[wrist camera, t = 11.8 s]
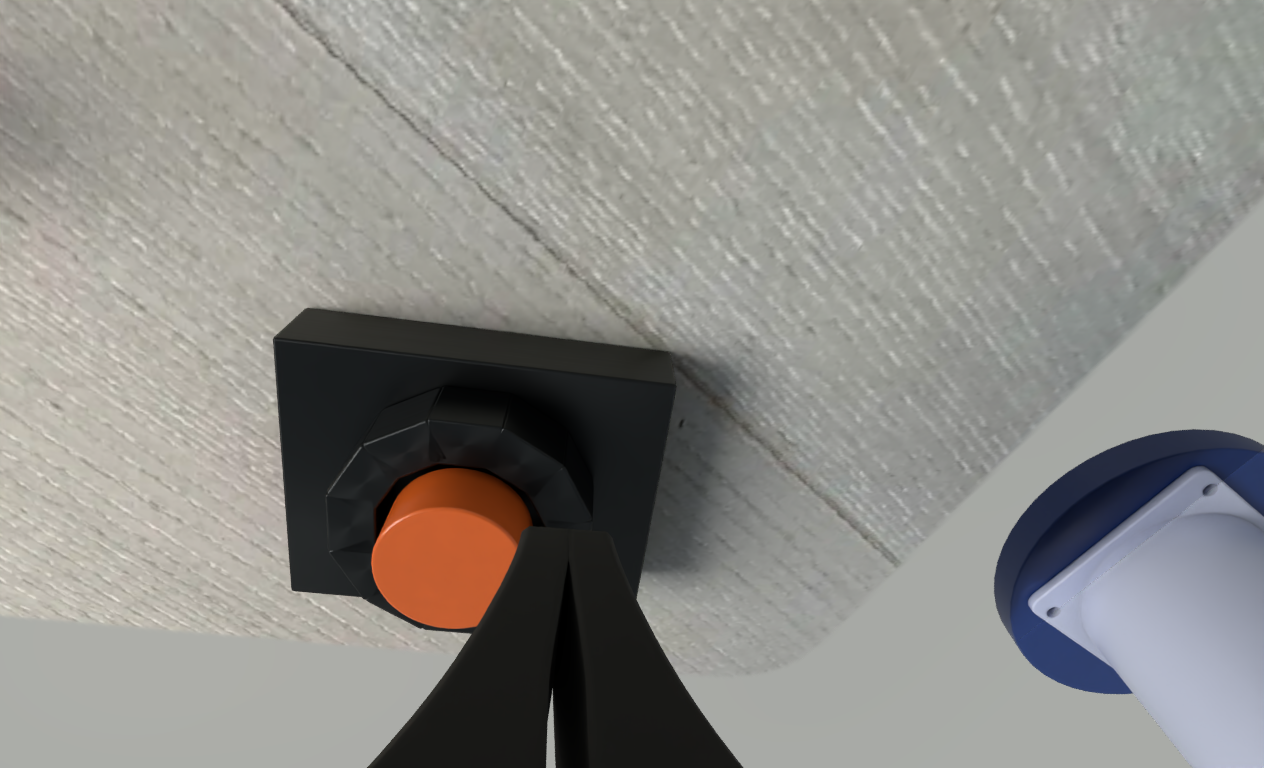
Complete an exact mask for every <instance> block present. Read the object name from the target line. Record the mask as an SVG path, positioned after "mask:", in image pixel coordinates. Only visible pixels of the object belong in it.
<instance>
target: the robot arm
mask: <svg viewBox="0 0 1264 768" xmlns="http://www.w3.org/2000/svg"><path fill="white" fill-rule="evenodd" d="M1206 486H1207V488H1205V487H1206ZM1204 488H1205V489H1204ZM1028 606H1029V607H1030V608H1031V610H1032V611H1033V612H1034V613H1035V614H1036V615H1037V616H1039V617H1040V618H1042V619H1043V620H1045V621H1046V622H1047V623H1049V624H1050V625H1052V626H1053V627H1055V628H1056V629H1058V630H1059V631H1060V632H1062V633H1063V634H1065V635H1066V636H1068V637H1069V638H1070V639H1072V640H1073V641H1075V642H1076V643H1078V644H1079V645H1081V646H1082V647H1083V648H1085V649H1086V650H1088V651H1089V652H1091V653H1092V654H1093V655H1095V656H1096V657H1098V658H1099V659H1101V660H1102V661H1104V662H1105V663H1106V664H1108V665H1109V666H1111V667H1112V668H1113V669H1114V670H1115V671H1116V672H1117V674H1118V675H1119V676H1120V677H1121V679H1122V680H1123V681H1124V682H1125V684H1126V685H1127V686H1128V687H1129V689H1130V690H1131V691H1132V693H1133V694H1134V695H1135V696H1136V698H1137V699H1138V700H1139V701H1140V703H1141V704H1142V705H1143V706H1144V708H1145V709H1146V710H1147V711H1148V713H1149V714H1150V715H1151V717H1153V719H1154V720H1155V722H1156V723H1157V724H1158V725H1159V727H1160V728H1161V729H1162V730H1163V732H1164V733H1165V734H1166V735H1167V737H1168V738H1169V739H1170V741H1171V742H1172V743H1173V744H1174V745H1175V747H1176V748H1177V749H1178V751H1179V752H1180V753H1181V754H1182V756H1183V757H1184V758H1185V759H1186V761H1187V762H1188V763H1189V764H1190V766H1191V767H1192V768H1264V517H1263V516H1262V515H1261V514H1260V513H1259V512H1258V511H1257V510H1255V509H1254V508H1253V507H1252V506H1251V505H1250V504H1249V503H1247V502H1246V501H1245V500H1244V499H1243V498H1242V497H1241V496H1239V495H1238V494H1237V493H1236V492H1235V491H1234V490H1233V489H1231V488H1230V487H1229V486H1228V485H1227V484H1226V483H1225V482H1223V481H1222V480H1221V479H1220V478H1219V477H1218V476H1217V475H1216V474H1214V473H1213V472H1212V471H1210V470H1209V469H1208V468H1206V467H1204V466H1196V467H1193V468H1191V469H1189V470H1187V471H1186V472H1185V473H1183V474H1182V475H1181V476H1180V477H1178V478H1177V479H1176V480H1175V481H1173V482H1172V483H1171V484H1170V485H1168V486H1167V487H1166V488H1165V489H1163V490H1162V491H1161V492H1160V493H1158V494H1157V495H1156V496H1155V497H1153V498H1152V499H1151V500H1150V501H1148V502H1147V503H1146V504H1145V505H1143V506H1142V507H1141V508H1140V509H1138V510H1137V511H1136V512H1135V513H1133V514H1132V515H1131V516H1130V517H1128V518H1127V519H1126V520H1125V521H1123V522H1122V523H1121V524H1120V525H1118V526H1117V527H1116V528H1115V529H1113V530H1112V531H1111V532H1110V533H1108V534H1107V535H1106V536H1105V537H1103V538H1102V539H1101V540H1100V541H1098V542H1097V543H1096V544H1095V545H1093V546H1092V547H1091V548H1090V549H1088V550H1087V551H1086V552H1085V553H1083V554H1082V555H1081V556H1080V557H1078V558H1077V559H1076V560H1075V561H1073V562H1072V563H1071V564H1070V565H1068V566H1067V567H1066V568H1065V569H1063V570H1062V571H1061V572H1060V573H1058V574H1057V575H1056V576H1055V577H1053V578H1052V579H1051V580H1050V581H1048V582H1047V583H1046V584H1045V585H1043V586H1042V587H1041V588H1040V589H1038V590H1037V591H1036V592H1035V593H1033V594H1032V595H1031V596H1030V598H1029V600H1028ZM1051 608H1052V609H1051ZM1049 609H1050V610H1049ZM552 688H553V711H554V738H555V761H556V768H743V767H742V766H741V764H740V763H739V762H738V760H737V759H736V758H735V756H734V755H733V754H732V753H731V751H730V750H729V749H728V747H727V746H726V745H725V743H724V742H723V741H722V740H721V739H720V737H719V736H718V734H717V733H716V732H715V730H714V729H713V728H712V726H711V725H710V723H709V722H708V720H707V719H706V718H705V716H704V715H703V713H702V712H701V711H700V709H699V708H698V706H697V705H696V703H695V702H694V700H693V699H692V697H691V696H690V694H689V693H688V691H687V690H686V688H685V686H684V685H683V683H682V682H681V680H680V679H679V677H678V675H677V674H676V672H675V670H674V669H673V667H672V665H671V664H670V662H669V660H668V659H667V657H666V655H665V653H664V652H663V650H662V648H661V646H660V644H659V643H658V641H657V639H656V637H655V635H654V633H653V631H652V630H651V628H650V626H649V624H648V622H647V620H646V618H645V616H644V614H643V612H642V610H641V608H640V606H639V604H638V602H637V600H636V598H635V596H634V593H633V591H632V589H631V587H630V584H629V582H628V580H627V577H626V575H625V573H624V570H623V568H622V565H621V562H620V560H619V557H618V554H617V551H616V548H615V545H614V542H613V538H612V537H611V536H610V535H609V534H608V532H605V531H591V530H577V529H563V528H550V527H536V526H529V527H527V528H526V529H524V530H523V531H522V532H521V537H520V541H519V544H518V547H517V549H516V552H515V555H514V557H513V560H512V562H511V564H510V566H509V569H508V571H507V573H506V575H505V577H504V579H503V581H502V583H501V585H500V587H499V589H498V590H497V592H496V594H495V596H494V597H493V599H492V601H491V603H490V605H489V606H488V608H487V610H486V612H485V614H484V615H483V617H482V619H481V620H480V622H479V624H478V625H477V627H476V628H475V630H474V631H473V633H472V634H471V636H470V638H469V639H468V641H467V642H466V644H465V645H464V647H463V648H462V650H461V651H460V653H459V654H458V656H457V657H456V659H455V661H454V662H453V663H452V665H451V666H450V667H449V669H448V671H447V672H446V673H445V675H444V676H443V677H442V679H441V680H440V681H439V683H438V684H437V685H436V687H435V688H434V689H433V691H432V692H431V693H430V695H429V696H428V697H427V699H426V700H425V701H424V702H423V703H422V705H421V706H420V707H419V709H418V710H417V711H416V712H415V713H414V715H413V716H412V717H411V719H410V720H409V721H408V722H407V723H406V724H405V725H404V726H403V728H402V729H401V730H400V731H399V732H398V733H397V735H396V736H395V737H394V738H393V739H392V740H391V742H390V743H389V744H388V745H387V746H386V747H385V748H384V750H383V751H382V752H381V753H380V754H379V755H378V756H377V758H376V759H375V760H374V761H373V762H372V763H371V764H370V765H369V766H368V767H367V768H546V747H547V746H546V744H547V721H548V714H549V708H550V701H551V695H552Z"/></svg>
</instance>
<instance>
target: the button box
mask: <svg viewBox="0 0 1264 768" xmlns="http://www.w3.org/2000/svg"><path fill="white" fill-rule="evenodd" d="M273 345H274V359H275V372H276V386H277V399H278V413H279V426H280V440H281V453H282V467H283V480H284V494H285V507H286V521H287V534H288V547H289V561H290V574H291V588H292V591H299V592H310V593H321V594H333V595H344V596H355V597H362V598H363V599H366V600H367V601H368V602H370V603H372V604H374V605H375V606H377V607H379V608H381V609H383V610H385V611H387V612H389V613H391V614H393V615H395V616H397V617H399V618H401V619H403V620H405V621H406V622H408V623H410V624H412V625H414V626H416V627H418V628H423V629H425V630H435V631H446V632H458V633H470V634H472V633H473V631H474V630H475V628H476V627H477V626H476V627H470V628H462V629H447V628H439V627H434V626H430V625H426V624H423V623H420V622H418V621H415V620H413V619H411V618H409V617H407V616H406V615H404V614H402V613H401V612H399V611H398V610H397V609H395V608H394V607H393V606H392V605H391V604H390V603H389V602H388V601H387V600H386V599H385V598H384V596H383V595H382V594H381V592H380V591H379V589H378V587H377V585H376V583H375V580H374V577H373V573H372V565H371V559H372V552H373V548H374V545H375V543H376V541H377V538H378V536H379V534H380V532H381V530H382V527H383V525H384V523H385V521H386V519H387V516H388V514H389V512H390V510H391V508H392V505H393V503H394V501H395V499H396V497H397V496H398V494H399V493H400V492H401V491H402V490H403V488H404V487H405V486H407V485H408V484H409V483H410V482H411V481H413V480H415V479H416V478H418V477H420V476H422V475H424V474H426V473H429V472H432V471H435V470H440V469H445V468H467V469H473V470H478V471H481V472H485V473H487V474H490V475H492V476H494V477H496V478H498V479H500V480H502V481H503V482H505V483H506V484H508V485H509V486H510V487H511V488H512V489H513V490H515V491H516V492H517V494H518V495H519V496H520V497H521V498H522V500H523V501H524V503H525V504H526V506H527V508H528V510H529V512H530V515H531V519H532V524H533V526H536V527H550V528H563V529H577V530H591V531H605V532H608V534H609V535H610V536H611V537H612V538H613V542H614V545H615V548H616V551H617V554H618V557H619V560H620V562H621V565H622V568H623V570H624V573H625V575H626V577H627V580H628V582H629V584H630V587H631V589H632V591H633V593H634V596H635V598H636V599H637V593H638V588H639V583H640V578H641V572H642V567H643V562H644V556H645V551H646V546H647V541H648V535H649V530H650V525H651V519H652V514H653V509H654V504H655V498H656V493H657V488H658V482H659V477H660V472H661V467H662V461H663V456H664V451H665V446H666V440H667V435H668V430H669V424H670V419H671V414H672V409H673V403H674V398H675V393H676V387H677V386H676V381H675V376H674V371H673V365H672V360H671V355H670V353H669V352H664V351H656V350H648V349H639V348H631V347H623V346H615V345H606V344H598V343H590V342H582V341H573V340H565V339H557V338H549V337H541V336H532V335H524V334H516V333H508V332H499V331H491V330H483V329H475V328H466V327H458V326H450V325H442V324H433V323H425V322H417V321H409V320H401V319H392V318H384V317H376V316H368V315H359V314H351V313H343V312H335V311H326V310H318V309H310V308H306V309H304V310H303V311H302V312H301V313H300V314H299V315H298V316H297V317H296V318H295V319H294V320H292V321H291V322H290V323H289V324H288V325H287V326H286V327H285V328H284V329H283V330H282V331H280V332H279V333H278V334H277V335H276V336H275V337H274V339H273Z"/></svg>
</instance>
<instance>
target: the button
mask: <svg viewBox="0 0 1264 768" xmlns="http://www.w3.org/2000/svg"><path fill="white" fill-rule="evenodd" d="M529 526H533V524H532V519H531V515H530V512H529V510H528V508H527V506H526V504H525V503H524V501H523V500H522V498H521V497H520V496H519V495H518V494H517V492H516V491H515V490H513V489H512V488H511V487H510V486H509V485H508V484H506V483H505V482H503V481H502V480H500V479H498V478H496V477H494V476H492V475H490V474H487V473H485V472H481V471H478V470H473V469H467V468H445V469H440V470H435V471H432V472H429V473H426V474H424V475H422V476H420V477H418V478H416V479H415V480H413V481H411V482H410V483H409V484H408V485H407V486H405V487H404V488H403V490H402V491H401V492H400V493H399V494H398V496H397V497H396V499H395V501H394V503H393V505H392V508H391V510H390V512H389V514H388V516H387V519H386V521H385V523H384V525H383V527H382V530H381V532H380V534H379V536H378V538H377V541H376V543H375V545H374V548H373V552H372V559H371V565H372V573H373V577H374V580H375V583H376V585H377V587H378V589H379V591H380V592H381V594H382V595H383V596H384V598H385V599H386V600H387V601H388V602H389V603H390V604H391V605H392V606H393V607H394V608H395V609H397V610H398V611H399V612H401V613H402V614H404V615H406V616H407V617H409V618H411V619H413V620H415V621H418V622H420V623H423V624H426V625H430V626H434V627H439V628H447V629H462V628H470V627H476V626H477V625H478V624H479V622H480V620H481V619H482V617H483V615H484V614H485V612H486V610H487V608H488V606H489V605H490V603H491V601H492V599H493V597H494V596H495V594H496V592H497V590H498V589H499V587H500V585H501V583H502V581H503V579H504V577H505V575H506V573H507V571H508V569H509V566H510V564H511V562H512V560H513V557H514V555H515V552H516V549H517V547H518V544H519V541H520V537H521V532H522V531H523V530H524V529H526V528H527V527H529Z"/></svg>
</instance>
